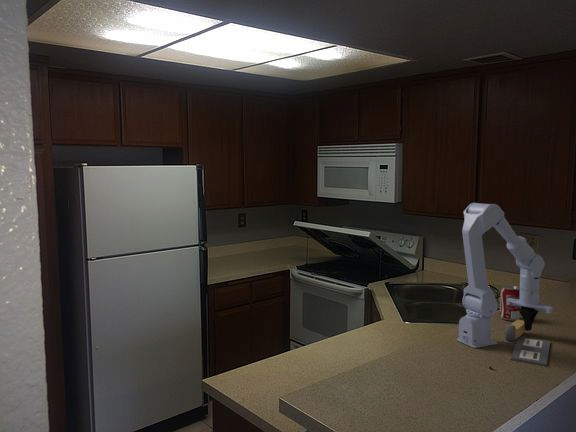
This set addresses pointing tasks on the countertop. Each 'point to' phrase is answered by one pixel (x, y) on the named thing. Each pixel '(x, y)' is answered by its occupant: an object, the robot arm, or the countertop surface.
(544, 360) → the label plate
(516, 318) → the soda can
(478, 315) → the robot arm
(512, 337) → the bar
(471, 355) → the countertop surface
